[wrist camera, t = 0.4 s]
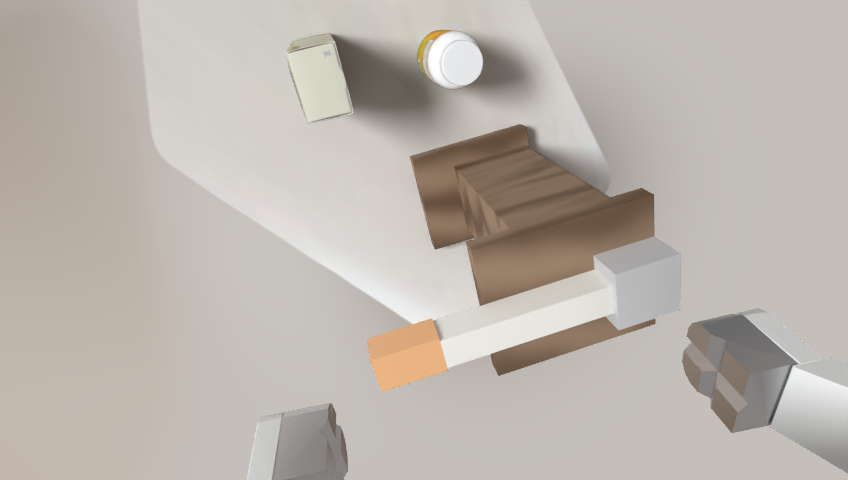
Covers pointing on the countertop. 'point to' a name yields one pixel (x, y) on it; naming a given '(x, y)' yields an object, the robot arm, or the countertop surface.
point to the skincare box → (319, 78)
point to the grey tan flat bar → (536, 314)
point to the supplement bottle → (449, 58)
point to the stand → (526, 227)
